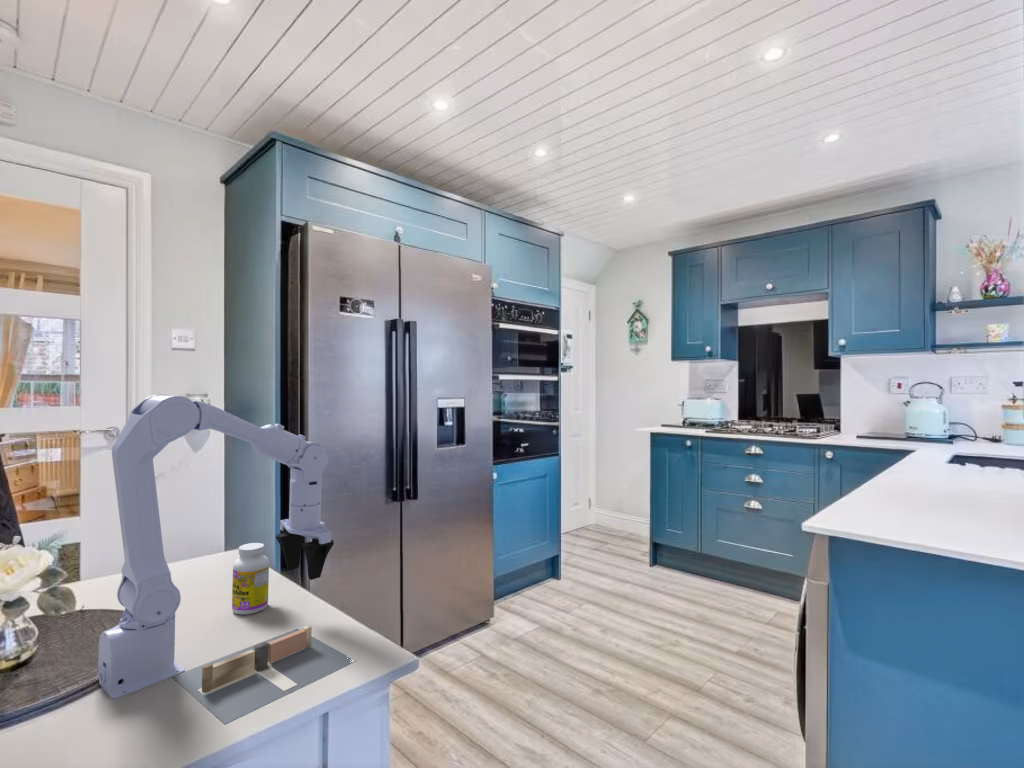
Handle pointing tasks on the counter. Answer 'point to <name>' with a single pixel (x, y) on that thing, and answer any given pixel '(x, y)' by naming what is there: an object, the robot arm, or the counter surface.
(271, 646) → the pink slab
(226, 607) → the counter surface
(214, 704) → the board
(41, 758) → the counter surface
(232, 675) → the base
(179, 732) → the counter surface
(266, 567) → the supplement bottle
